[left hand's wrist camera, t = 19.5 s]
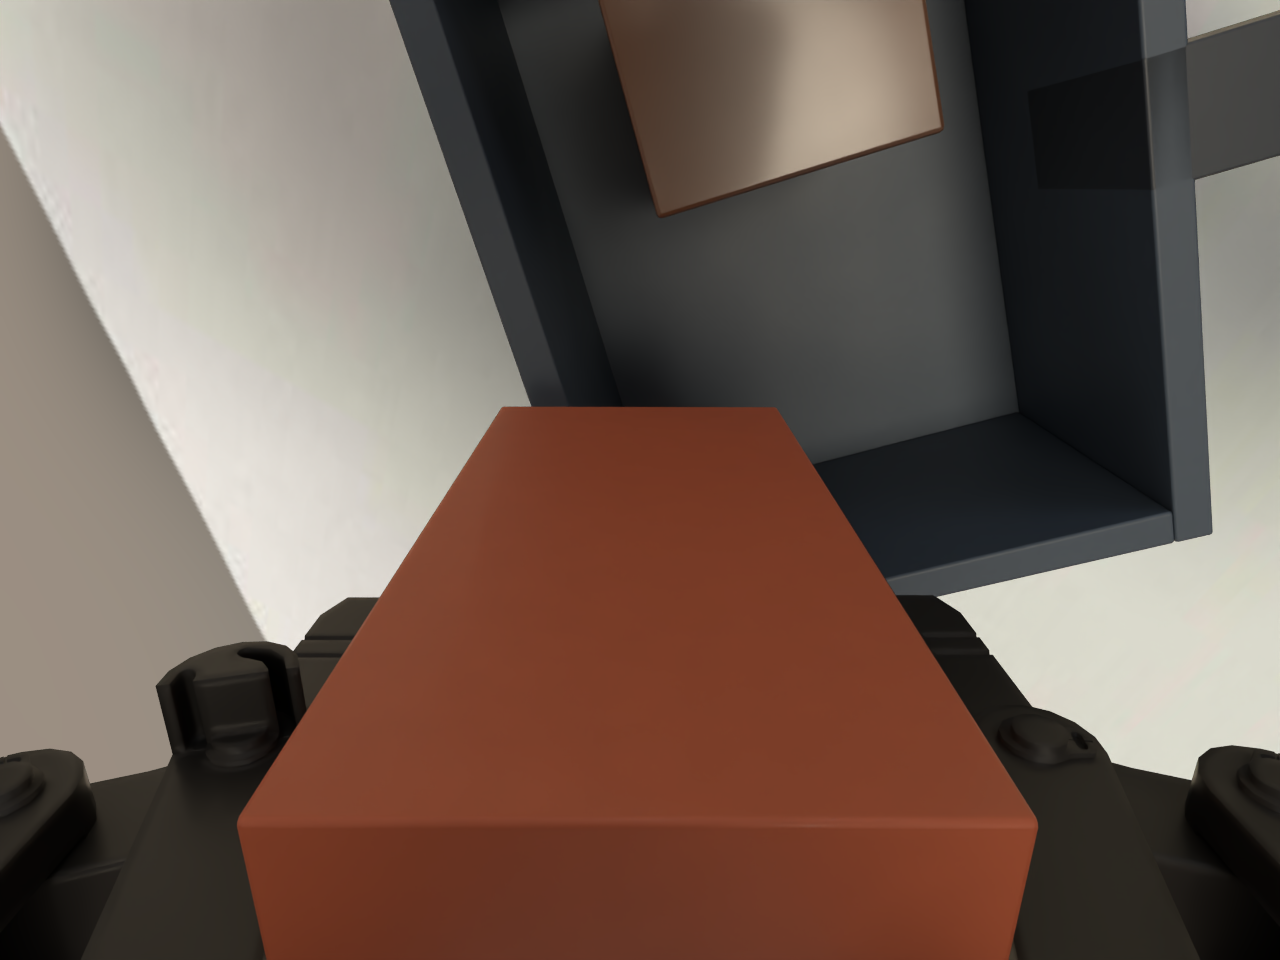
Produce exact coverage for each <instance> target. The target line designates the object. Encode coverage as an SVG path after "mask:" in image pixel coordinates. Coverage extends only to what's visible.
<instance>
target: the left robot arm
mask: <svg viewBox="0 0 1280 960" xmlns="http://www.w3.org/2000/svg"><path fill="white" fill-rule="evenodd" d="M819 476H820V475H819ZM820 477H821V476H820ZM821 479H822V478H821ZM822 481H823V480H822ZM823 482H824V481H823ZM824 484H825V483H824ZM825 485H826V484H825ZM826 487H827V486H826ZM827 488H828V487H827ZM828 490H829V489H828ZM829 492H830V491H829ZM830 493H831V492H830ZM831 495H832V494H831ZM832 496H833V495H832ZM833 498H834V497H833ZM835 501H836V500H835ZM836 503H837V502H836ZM837 504H838V503H837ZM838 506H839V505H838ZM839 507H840V506H839ZM840 509H841V508H840ZM841 511H842V510H841ZM842 512H843V511H842ZM843 514H844V513H843ZM844 515H845V514H844ZM845 517H846V516H845ZM846 518H847V517H846ZM847 520H848V519H847ZM848 522H849V521H848ZM849 523H850V522H849ZM850 525H851V524H850ZM851 526H852V525H851ZM852 528H853V527H852ZM854 531H855V530H854ZM855 533H856V532H855ZM856 534H857V533H856ZM857 536H858V535H857ZM858 537H859V536H858ZM859 539H860V538H859ZM860 541H861V540H860ZM861 542H862V541H861ZM862 544H863V543H862ZM863 545H864V544H863ZM864 547H865V546H864ZM865 548H866V547H865ZM866 550H867V549H866ZM867 552H868V551H867ZM868 553H869V552H868ZM869 555H870V554H869ZM870 556H871V555H870ZM871 558H872V557H871ZM872 559H873V558H872ZM873 561H874V560H873ZM874 563H875V562H874ZM875 564H876V563H875ZM876 566H877V565H876ZM877 567H878V566H877ZM878 569H879V568H878ZM880 572H881V571H880ZM881 574H882V573H881ZM882 575H883V574H882ZM883 577H884V576H883ZM884 578H885V577H884ZM885 580H886V579H885ZM886 582H887V581H886ZM887 583H888V582H887ZM888 585H889V584H888ZM889 586H890V585H889ZM890 588H891V587H890ZM891 589H892V588H891ZM892 591H893V590H892ZM893 593H894V592H893ZM894 594H895V593H894ZM895 596H896V597H897V599H898V600H899V602H900V604H901V605H902V607H903V608H904V610H905V612H906V613H907V615H908V616H909V618H910V619H911V621H912V623H913V624H914V626H915V627H916V629H917V630H918V632H919V634H920V635H921V637H922V638H923V640H924V641H925V643H926V645H927V646H928V648H929V649H930V651H931V653H932V654H933V656H934V657H935V659H936V660H937V662H938V664H939V665H940V667H941V668H942V670H943V671H944V673H945V675H946V676H947V678H948V679H949V681H950V683H951V684H952V686H953V687H954V689H955V690H956V692H957V694H958V695H959V697H960V698H961V700H962V701H963V703H964V705H965V706H966V708H967V709H968V711H969V712H970V714H971V716H972V717H973V719H974V720H975V722H976V724H977V725H978V727H979V728H980V730H981V731H982V733H983V735H984V736H985V738H986V739H987V741H988V742H989V744H990V746H991V747H992V749H993V750H994V752H995V754H996V755H997V757H998V758H999V760H1000V761H1001V763H1002V765H1003V766H1004V768H1005V769H1006V771H1007V772H1008V774H1009V776H1010V777H1011V779H1012V780H1013V782H1014V783H1015V785H1016V787H1017V788H1018V790H1019V791H1020V793H1021V795H1022V796H1023V798H1024V799H1025V801H1026V802H1027V804H1028V806H1029V807H1030V809H1031V810H1032V812H1033V813H1034V815H1035V817H1036V819H1037V822H1038V831H1037V835H1036V840H1035V844H1034V849H1033V853H1032V858H1031V862H1030V866H1029V871H1028V875H1027V880H1026V884H1025V889H1024V893H1023V898H1022V902H1021V906H1020V911H1019V915H1018V920H1017V924H1016V929H1015V933H1014V938H1013V942H1012V946H1011V951H1010V955H1009V960H1280V754H1279V753H1278V754H1276V753H1274V752H1272V751H1268V750H1263V749H1258V748H1250V747H1242V746H1233V745H1231V746H1224V747H1217V748H1210V749H1209V750H1208V751H1206V752H1205V753H1204V754H1203V755H1201V756H1200V757H1199V758H1198V762H1197V765H1196V768H1195V772H1194V775H1193V778H1192V780H1187V779H1182V778H1178V777H1173V776H1168V775H1163V774H1158V773H1154V772H1149V771H1144V770H1139V769H1134V768H1130V767H1126V766H1122V765H1119V764H1115V763H1111V760H1110V758H1109V756H1108V754H1107V752H1106V751H1105V750H1104V748H1103V747H1102V746H1101V744H1100V743H1099V742H1098V740H1097V739H1096V738H1095V737H1094V736H1093V735H1092V734H1090V733H1089V732H1087V731H1086V730H1085V729H1083V728H1082V727H1081V726H1079V725H1078V724H1076V723H1075V722H1073V721H1071V720H1068V719H1066V718H1064V717H1062V716H1059V715H1057V714H1055V713H1053V712H1050V711H1046V710H1042V709H1038V708H1034V707H1032V706H1031V705H1030V703H1029V702H1028V701H1027V699H1026V698H1025V697H1024V695H1023V694H1022V693H1021V692H1020V690H1019V689H1018V688H1017V686H1016V685H1015V684H1014V682H1013V681H1012V680H1011V678H1010V677H1009V676H1008V674H1007V673H1006V672H1005V671H1004V669H1003V668H1002V667H1001V665H1000V664H999V663H998V661H997V660H996V659H995V657H994V656H993V655H990V654H989V649H988V648H987V647H986V646H985V644H984V643H983V642H982V640H981V639H980V638H979V637H976V632H975V631H974V630H973V628H972V627H971V626H970V625H969V623H968V622H967V621H966V619H965V618H964V617H963V615H962V614H961V613H960V612H959V611H957V610H955V609H954V608H952V607H951V606H949V605H948V604H946V603H945V602H943V601H941V600H940V599H938V598H937V597H935V596H934V595H895ZM378 599H379V598H346V599H345V600H343V601H342V602H340V603H339V604H337V605H336V606H334V607H332V608H331V609H329V610H328V611H326V612H325V613H323V614H322V615H320V617H319V618H318V619H317V620H316V622H315V623H314V624H313V626H312V627H311V628H310V630H309V631H308V632H307V634H306V635H305V640H301V642H300V643H299V644H298V646H297V647H296V648H295V650H294V651H292V650H291V649H290V648H288V647H287V646H285V645H281V644H276V643H272V642H267V641H264V642H241V643H236V644H231V645H227V646H222V647H217V648H214V649H211V650H209V651H206V652H204V653H201V654H198V655H196V656H193V657H191V658H189V659H187V660H186V661H184V662H183V663H181V664H179V665H178V666H176V667H175V668H173V669H171V670H170V671H169V672H168V673H167V674H166V675H165V676H164V677H163V678H162V679H161V681H160V682H159V683H158V684H157V685H156V689H157V693H158V697H159V701H160V705H161V709H162V713H163V717H164V721H165V725H166V729H167V733H168V737H169V741H170V745H171V749H172V753H173V755H172V757H171V760H170V762H169V764H168V766H167V767H163V768H160V769H156V770H152V771H148V772H144V773H139V774H134V775H129V776H124V777H119V778H115V779H110V780H105V781H100V782H95V783H91V784H90V783H89V779H88V776H87V773H86V769H85V766H84V763H83V761H82V760H81V759H80V758H79V757H77V756H76V755H75V754H73V753H72V752H69V751H62V750H55V749H43V750H35V751H27V752H20V753H16V754H12V755H8V756H7V757H1V758H0V960H266V955H265V951H264V946H263V942H262V937H261V933H260V928H259V924H258V919H257V915H256V910H255V906H254V901H253V897H252V892H251V888H250V883H249V879H248V874H247V870H246V865H245V861H244V856H243V852H242V847H241V843H240V838H239V834H238V829H237V821H238V818H239V816H240V814H241V812H242V811H243V809H244V808H245V806H246V805H247V803H248V802H249V800H250V798H251V797H252V795H253V794H254V792H255V791H256V789H257V788H258V786H259V784H260V783H261V781H262V780H263V778H264V777H265V775H266V774H267V772H268V770H269V769H270V767H271V766H272V764H273V763H274V761H275V760H276V758H277V756H278V755H279V753H280V752H281V750H282V749H283V747H284V746H285V744H286V742H287V741H288V739H289V738H290V736H291V735H292V733H293V732H294V730H295V728H296V727H297V725H298V724H299V722H300V721H301V719H302V718H303V716H304V714H305V713H306V711H307V710H308V708H309V707H310V705H311V704H312V702H313V700H314V699H315V697H316V696H317V694H318V693H319V691H320V690H321V688H322V686H323V685H324V683H325V682H326V680H327V679H328V677H329V676H330V674H331V672H332V671H333V669H334V668H335V666H336V665H337V663H338V662H339V660H340V658H341V657H342V655H343V654H344V652H345V651H346V649H347V648H348V646H349V644H350V643H351V641H352V640H353V638H354V637H355V635H356V634H357V632H358V630H359V629H360V627H361V626H362V624H363V623H364V621H365V620H366V618H367V616H368V615H369V613H370V612H371V610H372V609H373V607H374V606H375V604H376V602H377V601H378Z"/></svg>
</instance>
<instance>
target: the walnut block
mask: <svg viewBox="0 0 1280 960" xmlns="http://www.w3.org/2000/svg"><path fill="white" fill-rule="evenodd" d="M598 2H599V6H600V9H601V13H602V17H603V20H604V24H605V28H606V31H607V35H608V39H609V42H610V46H611V50H612V53H613V57H614V61H615V64H616V68H617V72H618V75H619V79H620V83H621V86H622V90H623V94H624V97H625V101H626V105H627V108H628V112H629V116H630V119H631V123H632V127H633V130H634V134H635V138H636V141H637V145H638V149H639V152H640V156H641V160H642V163H643V167H644V171H645V174H646V178H647V182H648V185H649V189H650V193H651V196H652V200H653V204H654V207H655V211H656V215H657V216H658V217H659V218H665V217H668V216H672V215H675V214H678V213H681V212H684V211H688V210H691V209H694V208H697V207H701V206H704V205H707V204H710V203H714V202H717V201H720V200H723V199H727V198H730V197H733V196H736V195H740V194H743V193H746V192H749V191H753V190H756V189H759V188H762V187H766V186H769V185H772V184H775V183H778V182H782V181H785V180H788V179H791V178H795V177H798V176H801V175H804V174H808V173H811V172H814V171H817V170H821V169H824V168H827V167H830V166H834V165H837V164H840V163H843V162H847V161H850V160H853V159H856V158H859V157H863V156H866V155H869V154H872V153H876V152H879V151H882V150H885V149H889V148H892V147H895V146H898V145H902V144H905V143H908V142H911V141H915V140H918V139H921V138H924V137H928V136H931V135H934V134H937V133H940V132H941V131H943V129H944V119H943V113H942V106H941V99H940V92H939V86H938V79H937V72H936V66H935V59H934V52H933V46H932V39H931V32H930V26H929V19H928V12H927V5H926V0H598Z"/></svg>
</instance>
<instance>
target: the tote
mask: <svg viewBox="0 0 1280 960" xmlns="http://www.w3.org/2000/svg"><path fill="white" fill-rule="evenodd" d="M389 1H390V4H391V7H392V10H393V13H394V15H395V18H396V21H397V24H398V27H399V30H400V33H401V35H402V38H403V41H404V44H405V47H406V50H407V53H408V55H409V58H410V61H411V64H412V67H413V70H414V73H415V75H416V78H417V81H418V84H419V87H420V90H421V93H422V95H423V98H424V101H425V104H426V107H427V110H428V113H429V115H430V118H431V121H432V124H433V127H434V130H435V132H436V135H437V138H438V141H439V144H440V147H441V150H442V152H443V155H444V158H445V161H446V164H447V167H448V170H449V172H450V175H451V178H452V181H453V184H454V187H455V190H456V192H457V195H458V198H459V201H460V204H461V207H462V210H463V212H464V215H465V218H466V221H467V224H468V227H469V230H470V232H471V235H472V238H473V241H474V244H475V247H476V250H477V252H478V255H479V258H480V261H481V264H482V267H483V270H484V272H485V275H486V278H487V281H488V284H489V287H490V290H491V292H492V295H493V298H494V301H495V304H496V307H497V310H498V312H499V315H500V318H501V321H502V324H503V327H504V329H505V332H506V335H507V338H508V341H509V344H510V347H511V349H512V352H513V355H514V358H515V361H516V364H517V367H518V369H519V372H520V375H521V378H522V381H523V384H524V387H525V389H526V392H527V395H528V398H529V401H530V404H531V407H775V408H777V410H778V411H779V413H780V414H781V416H782V417H783V419H784V421H785V422H786V424H787V425H788V427H789V428H790V430H791V432H792V433H793V435H794V436H795V438H796V440H797V441H798V443H799V444H800V446H801V447H802V449H803V451H804V452H805V454H806V455H807V457H808V458H809V460H810V462H811V463H812V465H813V466H814V468H815V470H816V471H817V473H818V474H819V475H820V476H821V478H822V480H823V481H824V483H825V484H826V486H827V487H828V489H829V491H830V492H831V494H832V495H833V497H834V499H835V500H836V502H837V503H838V505H839V506H840V508H841V510H842V511H843V513H844V514H845V516H846V517H847V519H848V521H849V522H850V524H851V525H852V527H853V529H854V530H855V532H856V533H857V535H858V536H859V538H860V540H861V541H862V543H863V544H864V546H865V547H866V549H867V551H868V552H869V554H870V555H871V557H872V558H873V560H874V562H875V563H876V565H877V566H878V568H879V570H880V571H881V573H882V574H883V576H884V577H885V579H886V581H887V582H888V584H889V585H890V587H891V588H892V590H893V592H894V593H895V595H934V596H935V597H938V596H942V595H947V594H951V593H955V592H960V591H964V590H968V589H973V588H977V587H982V586H986V585H990V584H995V583H999V582H1003V581H1008V580H1012V579H1017V578H1021V577H1025V576H1030V575H1034V574H1038V573H1043V572H1047V571H1051V570H1056V569H1060V568H1065V567H1069V566H1073V565H1078V564H1082V563H1086V562H1091V561H1095V560H1100V559H1104V558H1108V557H1113V556H1117V555H1121V554H1126V553H1130V552H1134V551H1139V550H1143V549H1148V548H1152V547H1156V546H1161V545H1165V544H1169V543H1172V542H1173V541H1178V542H1179V541H1184V540H1188V539H1192V538H1197V537H1201V536H1205V535H1210V534H1212V513H1211V493H1210V473H1209V454H1208V434H1207V414H1206V395H1205V375H1204V355H1203V336H1202V316H1201V296H1200V277H1199V257H1198V237H1197V218H1196V198H1195V180H1196V179H1200V178H1203V177H1207V176H1210V175H1214V174H1217V173H1221V172H1224V171H1227V170H1231V169H1234V168H1238V167H1241V166H1245V165H1248V164H1252V163H1255V162H1259V161H1262V160H1266V159H1269V158H1273V157H1276V156H1280V10H1279V11H1276V12H1272V13H1269V14H1266V15H1263V16H1260V17H1256V18H1253V19H1250V20H1247V21H1243V22H1240V23H1237V24H1234V25H1231V26H1227V27H1224V28H1221V29H1218V30H1214V31H1211V32H1208V33H1205V34H1202V35H1198V36H1195V37H1192V38H1189V39H1187V21H1186V1H1185V0H926V5H927V12H928V19H929V26H930V32H931V39H932V46H933V52H934V59H935V66H936V72H937V79H938V86H939V92H940V99H941V106H942V113H943V119H944V129H943V131H941V132H940V133H937V134H934V135H931V136H928V137H924V138H921V139H918V140H915V141H911V142H908V143H905V144H902V145H898V146H895V147H892V148H889V149H885V150H882V151H879V152H876V153H872V154H869V155H866V156H863V157H859V158H856V159H853V160H850V161H847V162H843V163H840V164H837V165H834V166H830V167H827V168H824V169H821V170H817V171H814V172H811V173H808V174H804V175H801V176H798V177H795V178H791V179H788V180H785V181H782V182H778V183H775V184H772V185H769V186H766V187H762V188H759V189H756V190H753V191H749V192H746V193H743V194H740V195H736V196H733V197H730V198H727V199H723V200H720V201H717V202H714V203H710V204H707V205H704V206H701V207H697V208H694V209H691V210H688V211H684V212H681V213H678V214H675V215H672V216H668V217H665V218H659V217H658V216H657V215H656V211H655V207H654V204H653V200H652V196H651V193H650V189H649V185H648V182H647V178H646V174H645V171H644V167H643V163H642V160H641V156H640V152H639V149H638V145H637V141H636V138H635V134H634V130H633V127H632V123H631V119H630V116H629V112H628V108H627V105H626V101H625V97H624V94H623V90H622V86H621V83H620V79H619V75H618V72H617V68H616V64H615V61H614V57H613V53H612V50H611V46H610V42H609V39H608V35H607V31H606V28H605V24H604V20H603V17H602V13H601V9H600V6H599V2H598V0H389Z"/></svg>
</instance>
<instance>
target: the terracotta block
mask: <svg viewBox="0 0 1280 960" xmlns="http://www.w3.org/2000/svg"><path fill="white" fill-rule="evenodd" d="M237 829H238V834H239V838H240V843H241V847H242V852H243V856H244V861H245V865H246V870H247V874H248V879H249V883H250V888H251V892H252V897H253V901H254V906H255V910H256V915H257V919H258V924H259V928H260V933H261V937H262V942H263V946H264V951H265V955H266V960H1009V955H1010V951H1011V946H1012V942H1013V938H1014V933H1015V929H1016V924H1017V920H1018V915H1019V911H1020V906H1021V902H1022V898H1023V893H1024V889H1025V884H1026V880H1027V875H1028V871H1029V866H1030V862H1031V858H1032V853H1033V849H1034V844H1035V840H1036V835H1037V831H1038V822H1037V819H1036V817H1035V815H1034V813H1033V812H1032V810H1031V809H1030V807H1029V806H1028V804H1027V802H1026V801H1025V799H1024V798H1023V796H1022V795H1021V793H1020V791H1019V790H1018V788H1017V787H1016V785H1015V783H1014V782H1013V780H1012V779H1011V777H1010V776H1009V774H1008V772H1007V771H1006V769H1005V768H1004V766H1003V765H1002V763H1001V761H1000V760H999V758H998V757H997V755H996V754H995V752H994V750H993V749H992V747H991V746H990V744H989V742H988V741H987V739H986V738H985V736H984V735H983V733H982V731H981V730H980V728H979V727H978V725H977V724H976V722H975V720H974V719H973V717H972V716H971V714H970V712H969V711H968V709H967V708H966V706H965V705H964V703H963V701H962V700H961V698H960V697H959V695H958V694H957V692H956V690H955V689H954V687H953V686H952V684H951V683H950V681H949V679H948V678H947V676H946V675H945V673H944V671H943V670H942V668H941V667H940V665H939V664H938V662H937V660H936V659H935V657H934V656H933V654H932V653H931V651H930V649H929V648H928V646H927V645H926V643H925V641H924V640H923V638H922V637H921V635H920V634H919V632H918V630H917V629H916V627H915V626H914V624H913V623H912V621H911V619H910V618H909V616H908V615H907V613H906V612H905V610H904V608H903V607H902V605H901V604H900V602H899V600H898V599H897V597H896V596H895V594H894V593H893V591H892V589H891V588H890V586H889V585H888V583H887V582H886V580H885V578H884V577H883V575H882V574H881V572H880V570H879V569H878V567H877V566H876V564H875V563H874V561H873V559H872V558H871V556H870V555H869V553H868V552H867V550H866V548H865V547H864V545H863V544H862V542H861V541H860V539H859V537H858V536H857V534H856V533H855V531H854V529H853V528H852V526H851V525H850V523H849V522H848V520H847V518H846V517H845V515H844V514H843V512H842V511H841V509H840V507H839V506H838V504H837V503H836V501H835V499H834V498H833V496H832V495H831V493H830V492H829V490H828V488H827V487H826V485H825V484H824V482H823V481H822V479H821V477H820V476H819V474H818V473H817V471H816V470H815V468H814V466H813V465H812V463H811V462H810V460H809V458H808V457H807V455H806V454H805V452H804V451H803V449H802V447H801V446H800V444H799V443H798V441H797V440H796V438H795V436H794V435H793V433H792V432H791V430H790V428H789V427H788V425H787V424H786V422H785V421H784V419H783V417H782V416H781V414H780V413H779V411H778V410H777V408H775V407H502V408H501V410H500V411H499V413H498V414H497V416H496V417H495V419H494V420H493V422H492V424H491V425H490V427H489V428H488V430H487V431H486V433H485V434H484V436H483V438H482V439H481V441H480V442H479V444H478V445H477V447H476V448H475V450H474V452H473V453H472V455H471V456H470V458H469V459H468V461H467V462H466V464H465V466H464V467H463V469H462V470H461V472H460V473H459V475H458V476H457V478H456V480H455V481H454V483H453V484H452V486H451V487H450V489H449V490H448V492H447V494H446V495H445V497H444V498H443V500H442V501H441V503H440V504H439V506H438V508H437V509H436V511H435V512H434V514H433V515H432V517H431V518H430V520H429V522H428V523H427V525H426V526H425V528H424V529H423V531H422V532H421V534H420V536H419V537H418V539H417V540H416V542H415V543H414V545H413V546H412V548H411V550H410V551H409V553H408V554H407V556H406V557H405V559H404V560H403V562H402V564H401V565H400V567H399V568H398V570H397V571H396V573H395V574H394V576H393V578H392V579H391V581H390V582H389V584H388V585H387V587H386V588H385V590H384V592H383V593H382V595H381V596H380V598H379V599H378V601H377V602H376V604H375V606H374V607H373V609H372V610H371V612H370V613H369V615H368V616H367V618H366V620H365V621H364V623H363V624H362V626H361V627H360V629H359V630H358V632H357V634H356V635H355V637H354V638H353V640H352V641H351V643H350V644H349V646H348V648H347V649H346V651H345V652H344V654H343V655H342V657H341V658H340V660H339V662H338V663H337V665H336V666H335V668H334V669H333V671H332V672H331V674H330V676H329V677H328V679H327V680H326V682H325V683H324V685H323V686H322V688H321V690H320V691H319V693H318V694H317V696H316V697H315V699H314V700H313V702H312V704H311V705H310V707H309V708H308V710H307V711H306V713H305V714H304V716H303V718H302V719H301V721H300V722H299V724H298V725H297V727H296V728H295V730H294V732H293V733H292V735H291V736H290V738H289V739H288V741H287V742H286V744H285V746H284V747H283V749H282V750H281V752H280V753H279V755H278V756H277V758H276V760H275V761H274V763H273V764H272V766H271V767H270V769H269V770H268V772H267V774H266V775H265V777H264V778H263V780H262V781H261V783H260V784H259V786H258V788H257V789H256V791H255V792H254V794H253V795H252V797H251V798H250V800H249V802H248V803H247V805H246V806H245V808H244V809H243V811H242V812H241V814H240V816H239V818H238V821H237Z"/></svg>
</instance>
